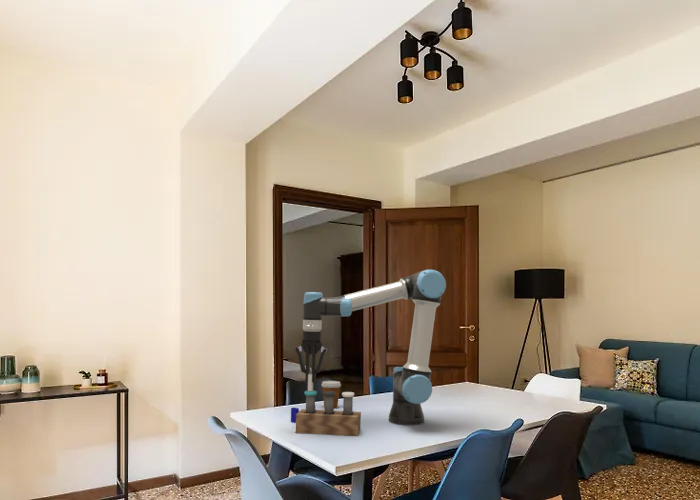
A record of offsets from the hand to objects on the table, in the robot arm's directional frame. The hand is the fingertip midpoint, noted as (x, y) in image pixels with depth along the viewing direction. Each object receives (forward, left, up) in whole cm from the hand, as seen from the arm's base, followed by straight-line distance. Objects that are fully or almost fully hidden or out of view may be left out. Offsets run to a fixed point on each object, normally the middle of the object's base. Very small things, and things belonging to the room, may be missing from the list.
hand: (310, 390), depth 206 cm
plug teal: (0, 0, -9) cm, 9 cm away
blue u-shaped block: (+6, -17, -16) cm, 24 cm away
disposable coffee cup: (0, -46, -16) cm, 49 cm away
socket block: (-8, 0, -15) cm, 17 cm away
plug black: (-8, 0, -9) cm, 12 cm away
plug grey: (-15, 0, -9) cm, 18 cm away
